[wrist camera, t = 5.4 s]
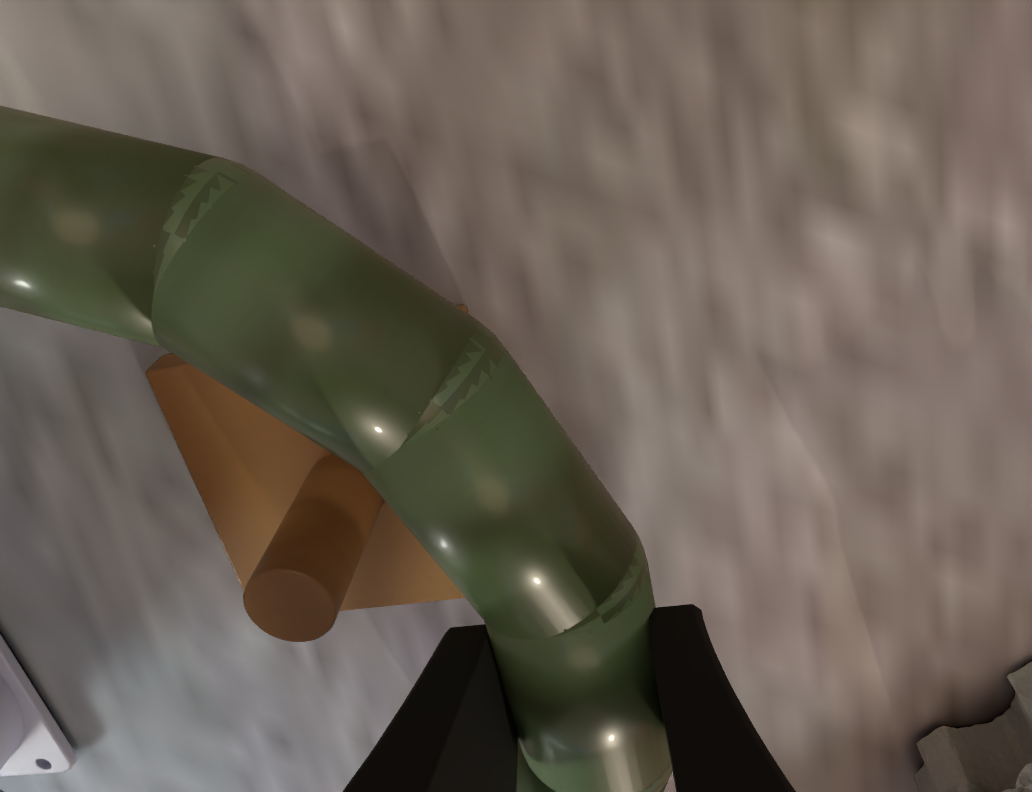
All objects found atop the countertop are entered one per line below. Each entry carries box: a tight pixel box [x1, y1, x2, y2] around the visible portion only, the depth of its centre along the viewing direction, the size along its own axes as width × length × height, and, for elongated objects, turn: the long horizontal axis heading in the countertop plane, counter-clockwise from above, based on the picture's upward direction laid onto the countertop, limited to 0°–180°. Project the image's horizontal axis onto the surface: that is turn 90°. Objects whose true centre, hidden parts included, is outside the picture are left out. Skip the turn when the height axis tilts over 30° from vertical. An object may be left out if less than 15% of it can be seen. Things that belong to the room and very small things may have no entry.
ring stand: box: [145, 305, 468, 642], centre depth 20 cm, size 8×8×6 cm
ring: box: [0, 106, 672, 792], centre depth 14 cm, size 18×18×2 cm
